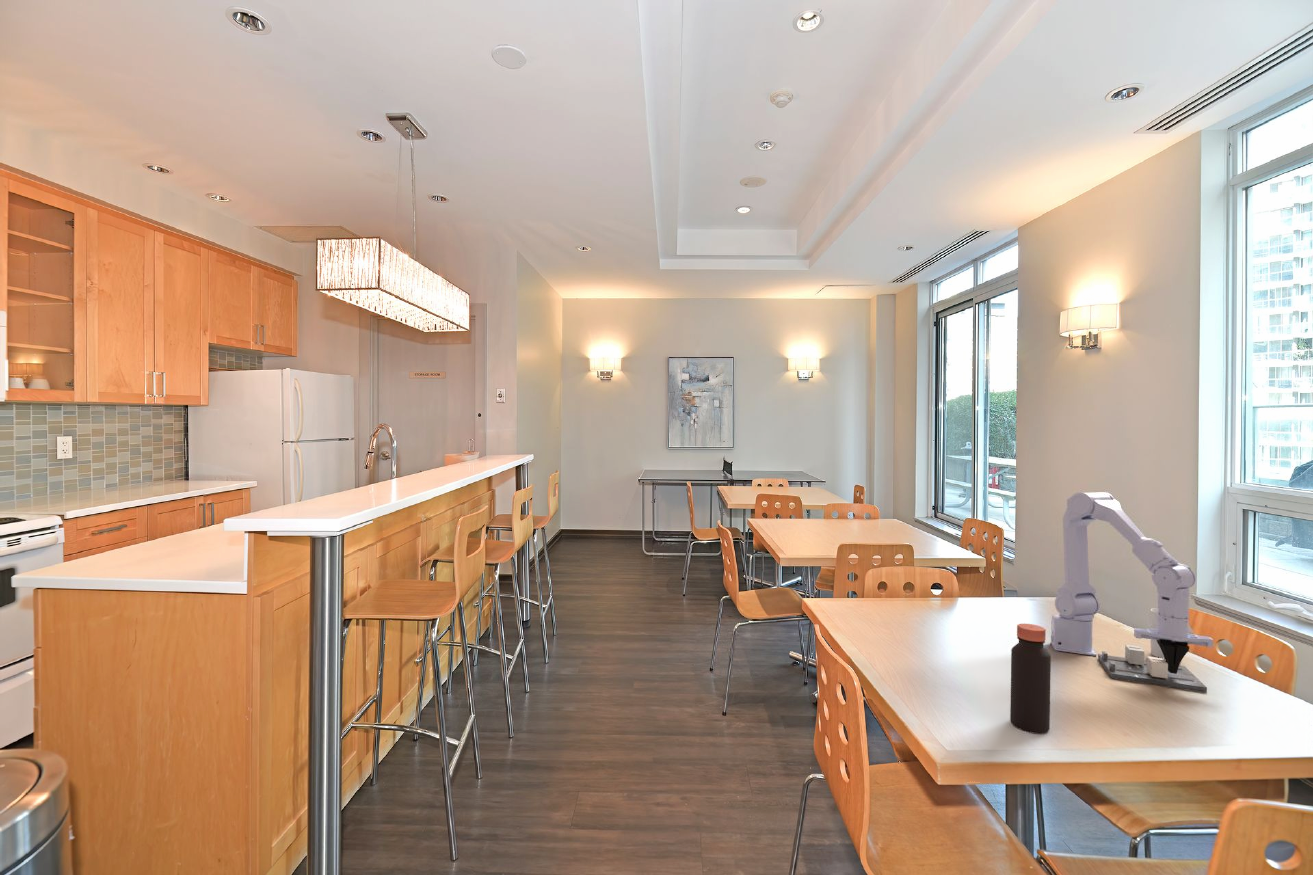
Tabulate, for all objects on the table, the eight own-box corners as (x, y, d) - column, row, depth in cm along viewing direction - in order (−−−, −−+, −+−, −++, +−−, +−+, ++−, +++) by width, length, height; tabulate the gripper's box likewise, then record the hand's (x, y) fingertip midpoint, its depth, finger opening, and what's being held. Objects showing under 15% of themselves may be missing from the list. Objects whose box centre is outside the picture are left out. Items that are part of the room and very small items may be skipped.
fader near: (1151, 676, 147) (1152, 661, 147) (1147, 670, 151) (1147, 655, 151) (1167, 678, 146) (1167, 663, 146) (1162, 672, 150) (1162, 657, 150)
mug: (1185, 662, 161) (1186, 616, 161) (1153, 658, 164) (1154, 613, 164) (1173, 650, 170) (1174, 607, 170) (1143, 646, 173) (1144, 604, 173)
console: (1111, 678, 149) (1111, 666, 149) (1097, 658, 163) (1098, 647, 163) (1207, 692, 142) (1207, 680, 142) (1184, 670, 155) (1184, 659, 155)
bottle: (1035, 718, 127) (1036, 621, 127) (1057, 734, 120) (1059, 632, 120) (1003, 718, 127) (1004, 621, 127) (1023, 734, 120) (1025, 632, 120)
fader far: (1129, 663, 156) (1129, 649, 156) (1125, 658, 159) (1125, 644, 159) (1143, 665, 154) (1144, 650, 154) (1139, 660, 158) (1139, 646, 158)
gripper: (1140, 615, 147) (1139, 672, 147) (1218, 624, 140) (1217, 683, 140) (1132, 608, 153) (1131, 662, 153) (1207, 616, 147) (1206, 672, 147)
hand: (1171, 671), depth 147 cm, fingers closed
